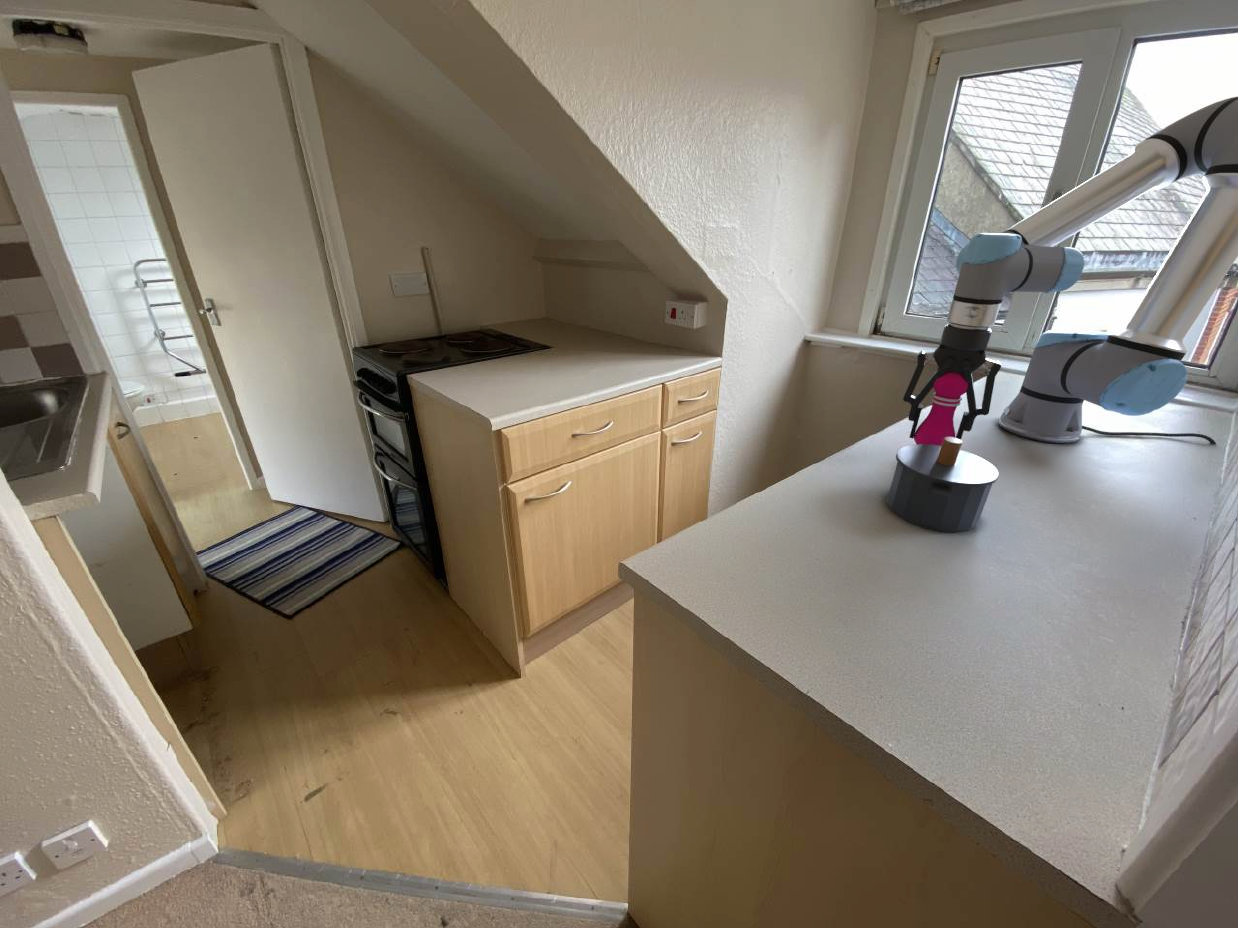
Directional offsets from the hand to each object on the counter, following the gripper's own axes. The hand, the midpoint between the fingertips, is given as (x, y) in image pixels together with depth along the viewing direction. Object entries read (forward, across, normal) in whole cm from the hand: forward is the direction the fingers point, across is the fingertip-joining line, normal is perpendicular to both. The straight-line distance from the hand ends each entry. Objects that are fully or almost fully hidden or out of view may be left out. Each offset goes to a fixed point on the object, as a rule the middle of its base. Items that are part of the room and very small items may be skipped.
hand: (933, 440), depth 107 cm
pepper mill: (+4, 0, 0) cm, 4 cm away
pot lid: (-4, +2, -23) cm, 23 cm away
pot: (+4, +2, -23) cm, 23 cm away
